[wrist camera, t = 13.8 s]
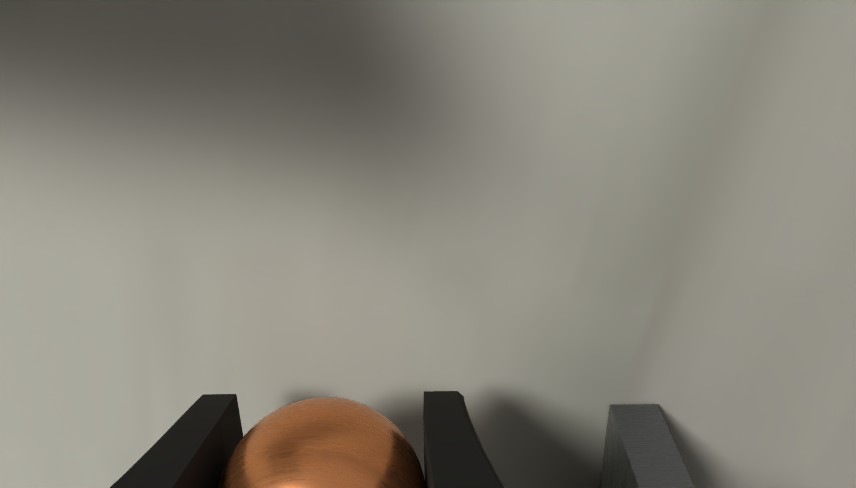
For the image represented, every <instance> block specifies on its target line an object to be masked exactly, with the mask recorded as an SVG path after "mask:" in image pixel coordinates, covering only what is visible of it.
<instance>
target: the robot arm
mask: <svg viewBox="0 0 856 488" xmlns="http://www.w3.org/2000/svg"><path fill="white" fill-rule="evenodd" d="M423 420H424V462H425V485H426V488H504V487H503V485H502V483H501V481H500V480H499V478H498V476H497V474H496V473H495V471H494V469H493V467H492V465H491V463H490V461H489V459H488V458H487V456H486V454H485V452H484V450H483V448H482V446H481V444H480V441H479V439H478V437H477V435H476V432H475V430H474V428H473V425H472V423H471V420H470V418H469V415H468V412H467V409H466V405H465V402H464V396H462V395H461V394H460V393H459V392H458V391H433V392H424V412H423ZM242 438H243V433H242V427H241V420H240V414H239V408H238V402H237V396H236V394H212V395H202V396H201V397H200V398H199V399H198V400H197V401H196V402H195V403H194V404H193V405H192V406H191V407H190V408H189V409H188V410H187V411H186V412H185V413H184V414H183V415H182V416H181V417H180V418H179V419H178V420H177V422H176V423H175V424H174V425H173V426H172V427H171V428H170V429H169V430H168V431H167V432H166V433H165V434H164V435H163V436H162V437H161V438H160V439H159V440H158V441H157V442H156V443H155V444H154V445H153V446H152V447H151V448H150V449H149V450H148V451H147V452H146V453H145V454H144V455H143V456H142V457H141V458H140V459H139V460H138V461H137V462H136V463H135V464H134V465H133V466H132V467H131V468H130V469H129V470H128V471H127V472H126V473H125V474H124V475H123V476H122V477H121V478H120V479H119V480H118V481H117V482H115V483H114V484H113V485H112V486H111V487H110V488H218V487H219V483H220V479H221V476H222V473H223V471H224V468H225V466H226V464H227V462H228V460H229V457H230V455H231V454H232V452H233V451H234V449H235V448H236V446H237V445H238V443H239V442H240V441H241V439H242Z"/></svg>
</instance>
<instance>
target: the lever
mask: <svg viewBox="0 0 856 488" xmlns="http://www.w3.org/2000/svg"><path fill="white" fill-rule="evenodd" d="M218 488H426V485H425V480H424V476H423V472H422V469H421V465H420V462H419V460H418V458H417V456H416V454H415V452H414V450H413V448H412V446H411V444H410V443H409V441H408V440H407V438H406V437H405V436H404V435H403V433H402V432H401V431H400V430H399V429H398V428H397V427H396V425H395V424H393V423H392V422H391V421H390V420H389V419H388V418H386V417H385V416H383V415H382V414H380V413H379V412H377V411H376V410H374V409H372V408H370V407H368V406H366V405H364V404H361V403H358V402H356V401H352V400H348V399H343V398H336V397H317V398H310V399H304V400H301V401H297V402H294V403H291V404H288V405H286V406H283V407H281V408H279V409H277V410H276V411H274V412H272V413H270V414H269V415H267V416H266V417H264V418H263V419H262V420H260V421H259V422H258V423H257V424H255V425H254V426H253V427H252V428H251V429H250V430H249V431H248V433H247V434H246V435H245V436H244V437H243V438H242V439H241V441H240V442H239V443H238V445H237V446H236V448H235V449H234V451H233V452H232V454H231V455H230V457H229V460H228V462H227V464H226V466H225V468H224V471H223V473H222V476H221V479H220V483H219V487H218Z"/></svg>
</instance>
